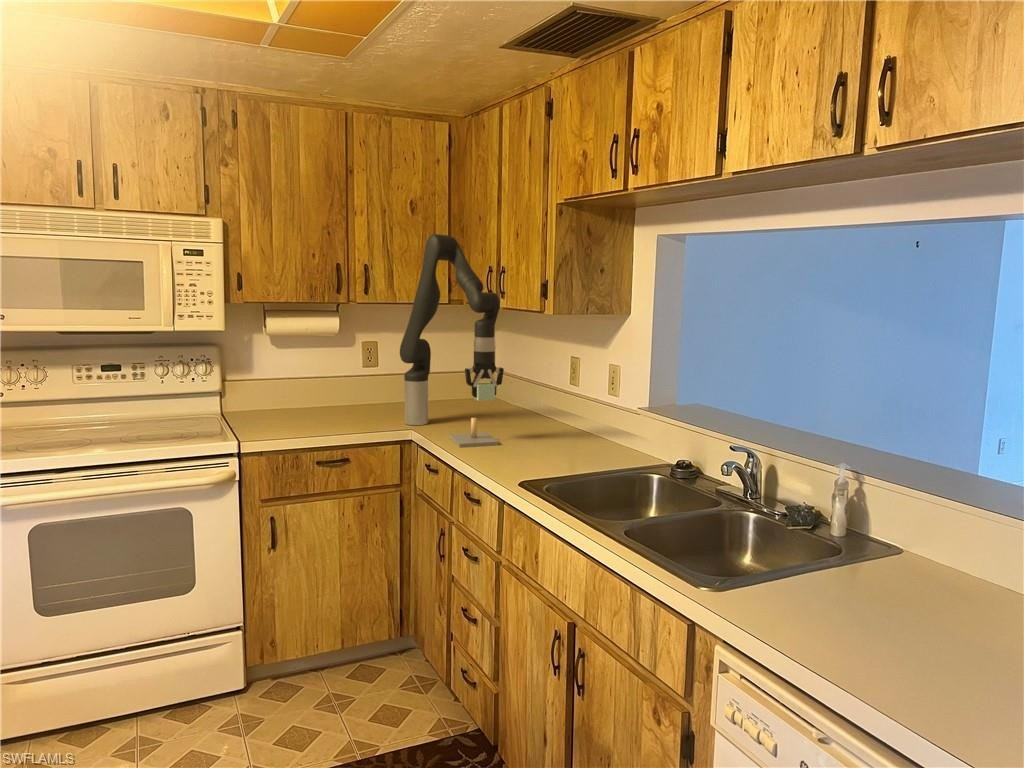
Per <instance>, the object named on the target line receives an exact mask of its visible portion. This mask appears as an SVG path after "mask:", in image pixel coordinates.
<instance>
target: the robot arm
mask: <svg viewBox="0 0 1024 768" xmlns="http://www.w3.org/2000/svg"><path fill="white" fill-rule="evenodd" d="M439 261H444V262H445V261H448V262H449V263H450V264H452V265H453V267H454V268H455V280H456V282H457V283H458V285H459V287H460V288H461V290H462V291H463V292H464V293H465V296H466V299H467V302H468V305H469V308H470V309H471V310H472V311H473V312H474V313H476V314H477V313H478V314H481V313H482V314H483V317H482V318H480V319H477V320H475V322H474V337H473V338H474V339H473V365H472V367H470V368H468V367H467V368H465V369H464V374H465V376H464V377H465V382H466V385H467V386H470V387H471V396H472V397H473V399H474V398H477V387H476V386H477V384H478V383H480V381H481V380H483V379H488V380H489V382H491V383H493V384H495V396H496V395H497V387H498V386H499V385H502V384H503V377H504V370H505V368H503V367H501V366H498V367H497V366H496V348H497V347H496V338H495V336H496V335H495V333H496V332H495V331H496V330H495V328H496V327H495V326H496V322H497V319H498V315H499V311H500V306H501V301H500V297H499V296H498V295H497V294H496V293H495V292H494V291H492V292H489V291H486V292H485V291H484V284H483V282H482V281H481V279H480V277H479V276H478V275H477V274H476V272H474V269H473V268H472V267H471V265H470V264H469V262H468V259H467V258H466V256H465V253H464V252H463V250H462V248H461V246H460V243H459V242H458V241H457V239H456V238H455V237H453V236H451V235H447V234H438V233H433V234H430V235H429V236H428V238H427V240H426V242H425V247H424V253H423V259H422V265H421V270H420V277H419V281H418V285H417V288H416V291H415V295H414V299H413V303H412V310H411V312H410V316H409V320H408V323H407V327H406V330H405V332H404V334H403V337H402V340H401V343H400V345H399V346H400V347H399V356H400V360H401V361H402V362H403V363H404V364H412V366H411V368H410V369H409V370H407V371H406V372H405V373H404V376H403V377H404V381H403V382H404V424H405V425H407V426H408V425H409V426H410V425H411V426H423V425H428V424H429V375H430V372H431V359H432V358H431V357H432V351H431V347H430V344H429V342H428V340H426V339H425V338H421V336H422V333H423V331H424V330H425V328H426V327H427V325H429V323H430V322H431V320H432V319H433V318H434V317H435V315H436V313H437V311H438V308H439V303H440V299H441V289H440V285H439V282H438V279H437V275H436V274H437V266H438V263H439ZM483 291H484V292H483ZM495 372H496V373H497V377H496V378H495V376H494V374H495ZM472 373H474V374H475V375H474V377H473V380H472V378H471V375H472Z"/></svg>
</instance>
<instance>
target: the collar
mask: <svg viewBox="0 0 1024 768" xmlns="http://www.w3.org/2000/svg"><path fill="white" fill-rule="evenodd" d="M476 387H477V398H474V397H473V399H474V400H476V401H478V402H481V401H483V402H484V401H486V402H488V401H495V400H496V395H495V384H493V383H491V382H490V381H488V382H487V381H486V382H485V381H484V382H478V384H477V386H476Z"/></svg>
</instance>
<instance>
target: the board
mask: <svg viewBox="0 0 1024 768" xmlns="http://www.w3.org/2000/svg"><path fill="white" fill-rule="evenodd" d="M477 424H478V418H477V417H471V418H470V432H465V433H462V432H461V433H450V434H449V438H450V439H451V440H452V441H453V442H454V444H455V445H457V446H458V447H459V448H473V447H487V446H489V447H490V446H499V445H500V441H499V440H498V439H496V438H495V436H493V435H492V434H490V432H488V431H484V432H483V431H482V432H478V430H477V428H478V427H477V426H478V425H477Z"/></svg>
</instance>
